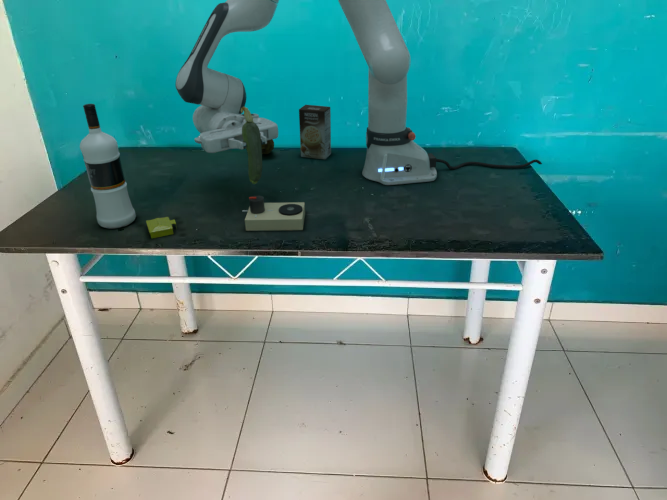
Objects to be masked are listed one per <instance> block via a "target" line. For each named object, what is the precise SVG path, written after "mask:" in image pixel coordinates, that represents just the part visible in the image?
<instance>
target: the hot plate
mask: <svg viewBox="0 0 667 500" xmlns="http://www.w3.org/2000/svg"><path fill="white" fill-rule="evenodd" d="M286 204H297V205H300V206H302V208H303V211H302V212H301V213H300V214H297V215H292V216H287V215H282V214H280V213H279V208H280V207H281V206H283V205H286ZM264 206H265V211H264V212H263V213H260V214H254V213H251V211H250V206H249V207H248V209H246V210H245V209H243V210H241V211H242V212H247V213H246V216H245V218H244V226H245V231H247V232H251V231H252V232H255V231H257V232H259V231H261V232H262V231H264V232H265V231H303V230H304V223H305V217H306V204H305V202H304V201H301V202H299V201H297V202H264Z"/></svg>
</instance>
